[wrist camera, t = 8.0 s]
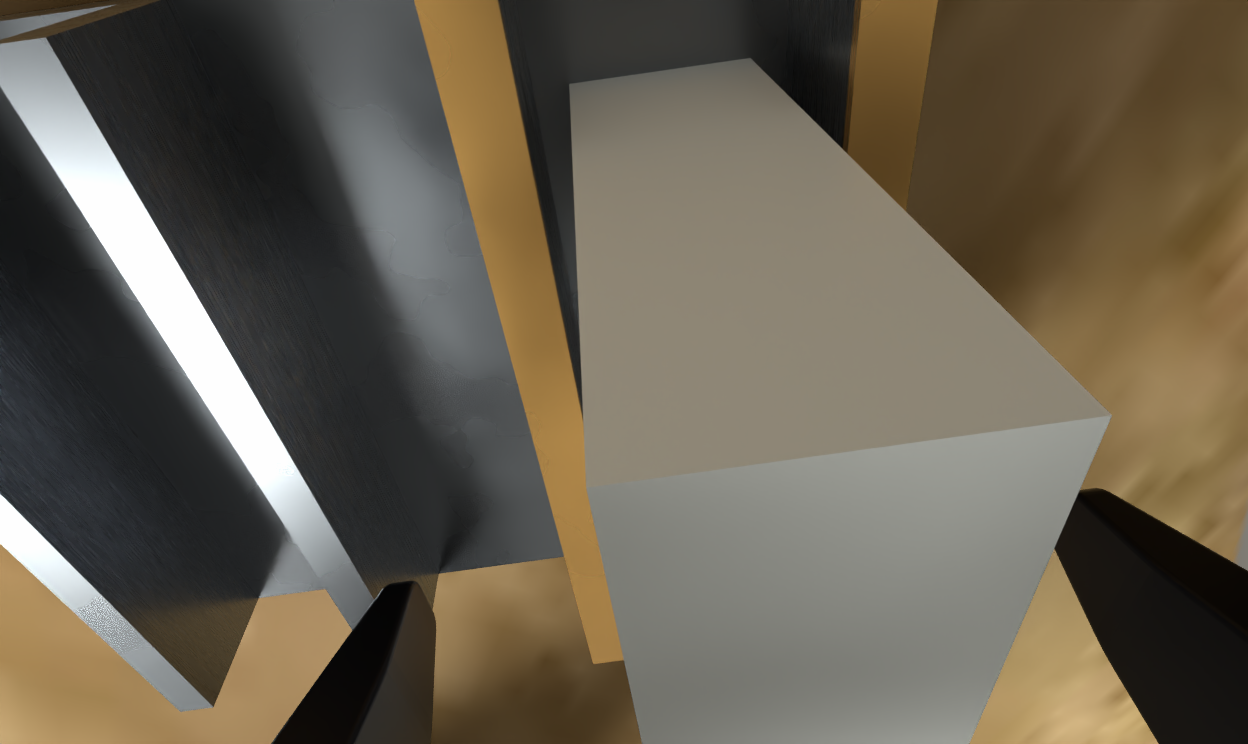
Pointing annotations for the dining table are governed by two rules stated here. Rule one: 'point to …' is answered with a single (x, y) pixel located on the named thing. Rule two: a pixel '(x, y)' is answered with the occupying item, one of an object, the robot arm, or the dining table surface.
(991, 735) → the dining table surface
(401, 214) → the rack
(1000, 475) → the panel
